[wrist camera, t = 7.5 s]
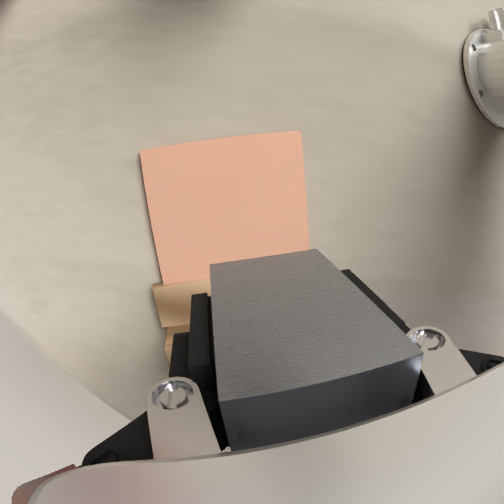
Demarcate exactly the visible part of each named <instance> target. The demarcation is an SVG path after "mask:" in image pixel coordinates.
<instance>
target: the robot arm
mask: <svg viewBox="0 0 504 504" xmlns="http://www.w3.org/2000/svg"><path fill="white" fill-rule="evenodd" d="M495 11H496V12H495ZM495 11H489V12H488V16H489V20H490V22H491V26H492V28H491V29H490V30H489V29H479V30H476V31H473V32H472V33H471V34H469V36H468V37H467V39H466V42H465V45H464V52H463V63H464V70H465V75H466V79H467V83H468V86H469V89H470V92H471V94H472V96H473V98H474V100H475V103H476V104H477V106H478V108H479V109H480V111H481V112H482V113H483V115H484V116H485V117H486V118H487V119H488V120H489V121H490V122H491V123H492V124H494V125H496V126H498V127H502V128H504V8H497V9H496V10H495ZM341 272H342V273H343V274H344V275H345V276H346V277H347V278H348V279H349V280H350V281H351V282H352V283H353V284H355V285H356V286H357V287H358V288H359V289H360V290H361V291H362V292H363V293H364V294H365V295H366V296H367V297H368V298H369V299H370V300H371V301H372V302H373V303H374V304H375V305H376V306H377V307H378V308H379V309H380V310H382V311H383V312H384V313H385V314H386V315H387V316H388V317H389V318H390V319H391V320H392V321H393V322H394V323H395V324H396V325H397V326H398V327H399V328H400V329H401V330H402V331H403V332H404V333H405V334H406V335H407V336H408V337H409V338H410V339H411V340H412V341H413V342H414V343H415V344H416V345H417V346H418V347H419V348H420V349H421V350H422V351H423V352H424V355H423V360H422V364H421V369H420V373H419V377H418V381H417V385H416V389H415V393H414V396H413V400H412V403H411V405H409V406H406V407H404V408H401V409H398V410H396V411H393V412H390V413H387V414H384V415H381V416H379V417H376V418H373V419H370V420H366V421H363V422H360V423H357V424H354V425H350V426H347V427H344V428H340V429H337V430H333V431H329V432H325V433H322V434H318V435H314V436H310V437H305V438H301V439H297V440H292V441H288V442H283V443H278V444H273V445H268V446H263V447H257V448H251V449H245V450H239V451H232V452H224V453H221V452H222V451H223V450H224V449H225V448H226V447H228V446H230V444H229V441H228V437H227V433H226V429H225V425H224V421H223V417H222V413H221V409H220V405H219V401H218V389H217V377H216V364H215V350H214V336H213V320H212V303H211V296H208V294H207V292H206V293H199V294H193V295H191V311H190V331H189V332H182V333H175V334H174V336H173V343H172V351H171V360H170V370H169V378H166V379H163V380H161V381H159V382H157V383H155V384H154V385H153V386H152V387H151V388H150V389H149V391H148V392H147V394H146V406H147V411H146V412H144V413H143V414H142V415H140V416H139V417H137V418H136V419H135V420H133V421H132V422H130V423H129V424H128V425H127V426H125V427H123V428H122V429H121V430H119V431H118V432H116V433H115V434H113V435H112V436H110V437H109V438H107V439H106V440H104V441H103V442H102V443H100V444H99V445H97V446H96V447H94V448H93V449H91V450H90V451H89V452H88V453H87V454H86V456H85V457H84V459H83V462H82V465H80V466H78V467H76V466H75V465H74V464H72V465H70V466H67V467H65V468H62V469H60V470H58V471H55V472H53V473H50V474H48V475H45V476H43V477H40V478H38V479H35V480H32V481H30V482H27V483H24V484H22V485H21V486H19V487H18V488H17V489H16V490H15V491H14V493H13V496H12V504H504V357H501V356H496V355H490V354H484V353H478V352H472V351H467V350H461V349H458V348H457V347H456V345H455V344H454V343H453V341H452V340H451V339H450V337H449V336H448V335H447V334H446V333H445V332H444V331H442V330H440V329H439V328H435V327H431V326H419V327H416V328H413V329H411V330H410V329H409V328H408V327H407V326H406V325H405V322H404V321H403V320H402V319H401V318H400V317H398V316H397V315H396V314H395V313H394V312H393V311H392V310H391V309H390V308H389V307H388V306H387V305H386V304H385V303H384V302H383V301H382V300H381V299H380V298H379V297H378V296H377V295H376V294H375V293H374V292H373V291H372V290H371V289H369V288H368V287H367V286H366V285H365V284H364V283H363V282H362V281H361V280H360V279H359V278H358V277H357V276H356V275H355V274H354V273H352V272H351V271H350V270H349V269H347V270H341Z"/></svg>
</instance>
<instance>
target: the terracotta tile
mask: <svg viewBox="0 0 504 504" xmlns="http://www.w3.org/2000/svg"><path fill="white" fill-rule="evenodd" d="M140 158H141V165H142V172H143V179H144V185H145V191H146V197H147V203H148V209H149V215H150V220H151V226H152V231H153V237H154V242H155V247H156V252H157V257H158V261H159V266H160V271H161V275H162V280H163V284H164V285H166V284H173V283H180V282H187V281H194V280H201V279H208V278H210V264H216V263H223V262H229V261H236V260H243V259H250V258H257V257H264V256H271V255H278V254H285V253H292V252H298V251H305V250H309V234H308V217H307V201H306V186H305V173H304V161H303V149H302V138H301V131H290V132H276V133H264V134H253V135H243V136H234V137H225V138H217V139H210V140H202V141H195V142H188V143H182V144H175V145H169V146H163V147H157V148H152V149H146V150H141V151H140Z"/></svg>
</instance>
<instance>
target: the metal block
mask: <svg viewBox="0 0 504 504" xmlns="http://www.w3.org/2000/svg"><path fill="white" fill-rule="evenodd" d="M210 284H211V303H212V320H213V336H214V350H215V364H216V377H217V389H218V401H219V405H220V409H221V413H222V417H223V421H224V425H225V429H226V433H227V437H228V441H229V444H230V448H231V452H232V451H239V450H245V449H251V448H257V447H263V446H268V445H273V444H278V443H283V442H288V441H292V440H297V439H301V438H305V437H310V436H314V435H318V434H322V433H325V432H329V431H333V430H337V429H340V428H344V427H347V426H350V425H354V424H357V423H360V422H363V421H366V420H370V419H373V418H376V417H379V416H381V415H384V414H387V413H390V412H393V411H396V410H398V409H401V408H404V407H406V406H409V405H411V403H412V400H413V396H414V393H415V389H416V385H417V381H418V377H419V373H420V369H421V364H422V360H423V355H424V352H423V351H422V350H421V349H420V348H419V347H418V346H417V345H416V344H415V343H414V342H413V341H412V340H411V339H410V338H409V337H408V336H407V335H406V334H405V333H404V332H403V331H402V330H401V329H400V328H399V327H398V326H397V325H396V324H395V323H394V322H393V321H392V320H391V319H390V318H389V317H388V316H387V315H386V314H385V313H384V312H383V311H382V310H380V309H379V308H378V307H377V306H376V305H375V304H374V303H373V302H372V301H371V300H370V299H369V298H368V297H367V296H366V295H365V294H364V293H363V292H362V291H361V290H360V289H359V288H358V287H357V286H356V285H355V284H353V283H352V282H351V281H350V280H349V279H348V278H347V277H346V276H345V275H344V274H343V273H342V272H341V271H340V270H339V269H338V268H336V267H335V266H334V265H333V264H332V263H331V262H330V261H329V260H328V259H327V258H326V257H325V256H324V255H323V254H321V253H320V252H319V251H318V250H317V249H312V250H305V251H298V252H292V253H285V254H278V255H271V256H264V257H257V258H250V259H243V260H236V261H229V262H223V263H216V264H210Z"/></svg>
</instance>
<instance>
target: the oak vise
mask: <svg viewBox="0 0 504 504" xmlns="http://www.w3.org/2000/svg"><path fill="white" fill-rule="evenodd" d="M152 290H153V294H154V298H155V302H156V306H157V310H158V314H159V318H160V321H161V325H162V328H163V327H167V333H166V340H165V348H164V350H165V353H166V356H167V360H168V363H169V366H170V360H171V351H172V343H173V336H174V334H175V333H182V332H189V331H190V311H191V295H193V294H199V293H206V292H207V294H208V296H211V284H210V278H208V279H201V280H194V281H187V282H180V283H173V284H166V285H164V284H163V282H162V283H154V284H153V287H152Z"/></svg>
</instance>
